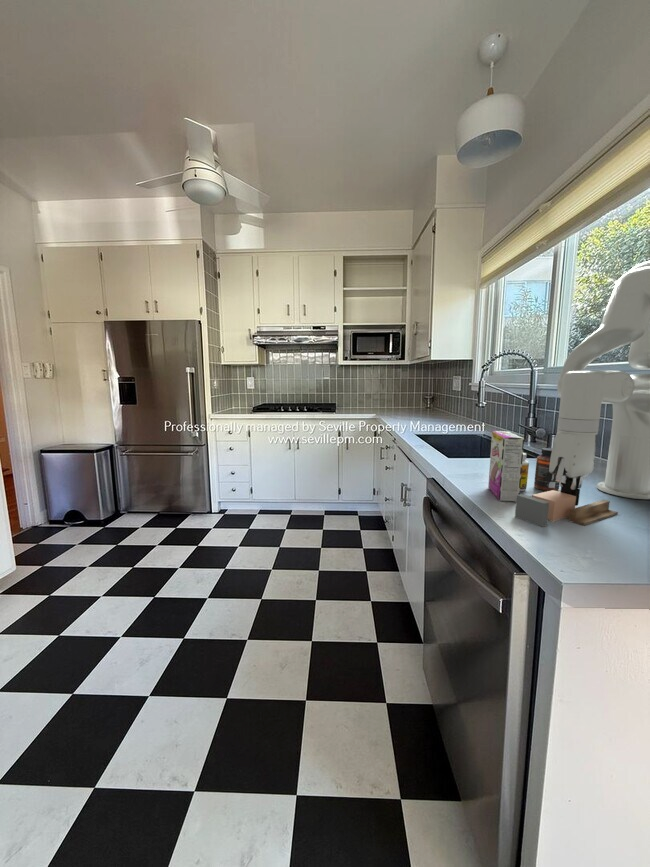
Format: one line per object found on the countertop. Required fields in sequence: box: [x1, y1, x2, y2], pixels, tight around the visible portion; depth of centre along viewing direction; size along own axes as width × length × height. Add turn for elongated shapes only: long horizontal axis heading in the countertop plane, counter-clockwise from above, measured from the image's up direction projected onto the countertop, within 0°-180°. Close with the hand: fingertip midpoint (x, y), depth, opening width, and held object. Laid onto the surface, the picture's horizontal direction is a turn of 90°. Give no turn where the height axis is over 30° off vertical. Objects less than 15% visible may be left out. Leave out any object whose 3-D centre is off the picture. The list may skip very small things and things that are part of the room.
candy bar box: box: [487, 430, 525, 503], centre depth 91 cm, size 11×5×16 cm, turn 169°
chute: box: [557, 489, 618, 526], centre depth 81 cm, size 14×13×2 cm
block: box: [531, 490, 576, 522], centre depth 78 cm, size 8×5×4 cm, turn 117°
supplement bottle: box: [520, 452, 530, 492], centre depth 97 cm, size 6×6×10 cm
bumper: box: [514, 493, 549, 528], centre depth 74 cm, size 2×6×5 cm, turn 28°
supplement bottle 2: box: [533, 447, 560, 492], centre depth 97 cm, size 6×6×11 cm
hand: (568, 504), depth 81 cm, fingers closed
